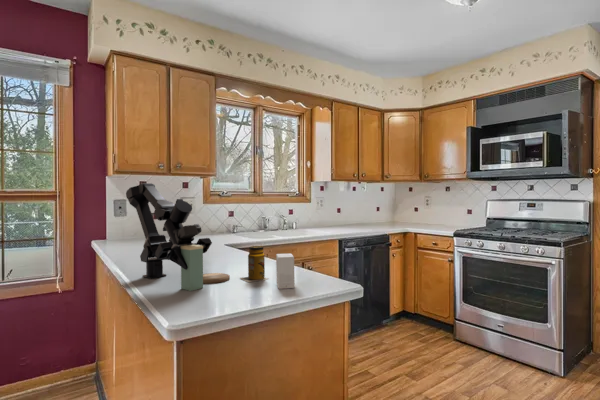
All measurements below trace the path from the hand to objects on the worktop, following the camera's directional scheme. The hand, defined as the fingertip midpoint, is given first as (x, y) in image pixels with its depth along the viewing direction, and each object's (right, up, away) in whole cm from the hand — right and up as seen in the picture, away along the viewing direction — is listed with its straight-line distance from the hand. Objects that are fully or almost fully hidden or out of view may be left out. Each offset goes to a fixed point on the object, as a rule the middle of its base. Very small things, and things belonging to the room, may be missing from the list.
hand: (194, 267), depth 119 cm
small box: (+30, -7, +3) cm, 31 cm away
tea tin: (-1, -7, +1) cm, 7 cm away
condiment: (+18, -7, +14) cm, 24 cm away
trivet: (+2, -7, +14) cm, 15 cm away
